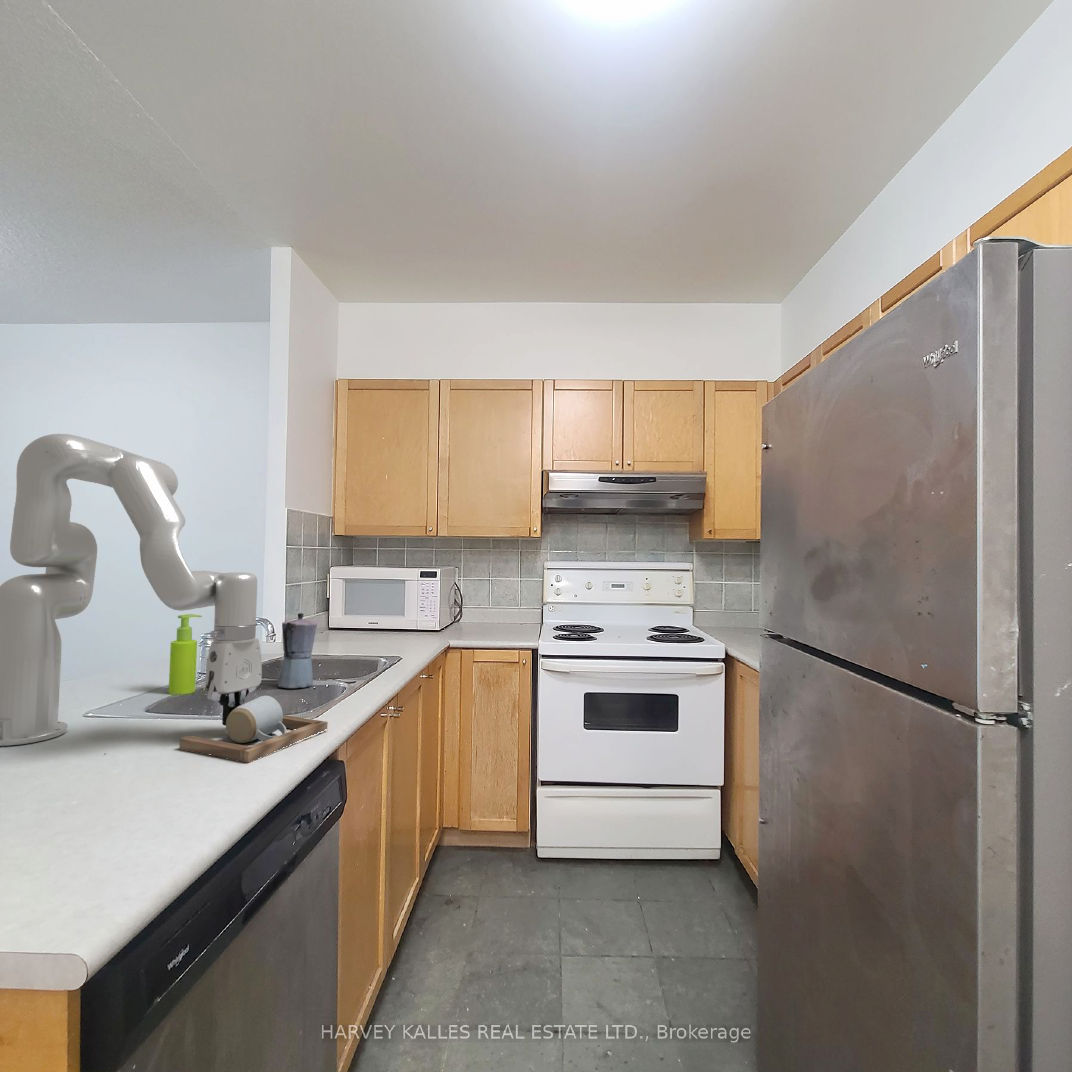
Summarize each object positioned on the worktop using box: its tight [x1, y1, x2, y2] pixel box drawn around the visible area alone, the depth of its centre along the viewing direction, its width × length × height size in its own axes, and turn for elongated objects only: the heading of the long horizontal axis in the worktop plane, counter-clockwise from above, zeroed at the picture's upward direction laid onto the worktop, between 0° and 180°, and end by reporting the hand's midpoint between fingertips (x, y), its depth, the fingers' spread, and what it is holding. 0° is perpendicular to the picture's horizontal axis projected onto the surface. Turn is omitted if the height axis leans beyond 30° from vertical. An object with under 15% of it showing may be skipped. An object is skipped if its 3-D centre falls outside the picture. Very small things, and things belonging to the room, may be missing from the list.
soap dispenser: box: [168, 613, 203, 696], centre depth 151 cm, size 6×7×20 cm
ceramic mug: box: [225, 695, 288, 744], centre depth 115 cm, size 11×8×8 cm
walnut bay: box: [179, 714, 328, 763], centre depth 114 cm, size 20×17×2 cm
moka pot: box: [277, 612, 318, 689], centre depth 159 cm, size 10×15×20 cm, turn 2°
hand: (231, 724), depth 117 cm, fingers closed
